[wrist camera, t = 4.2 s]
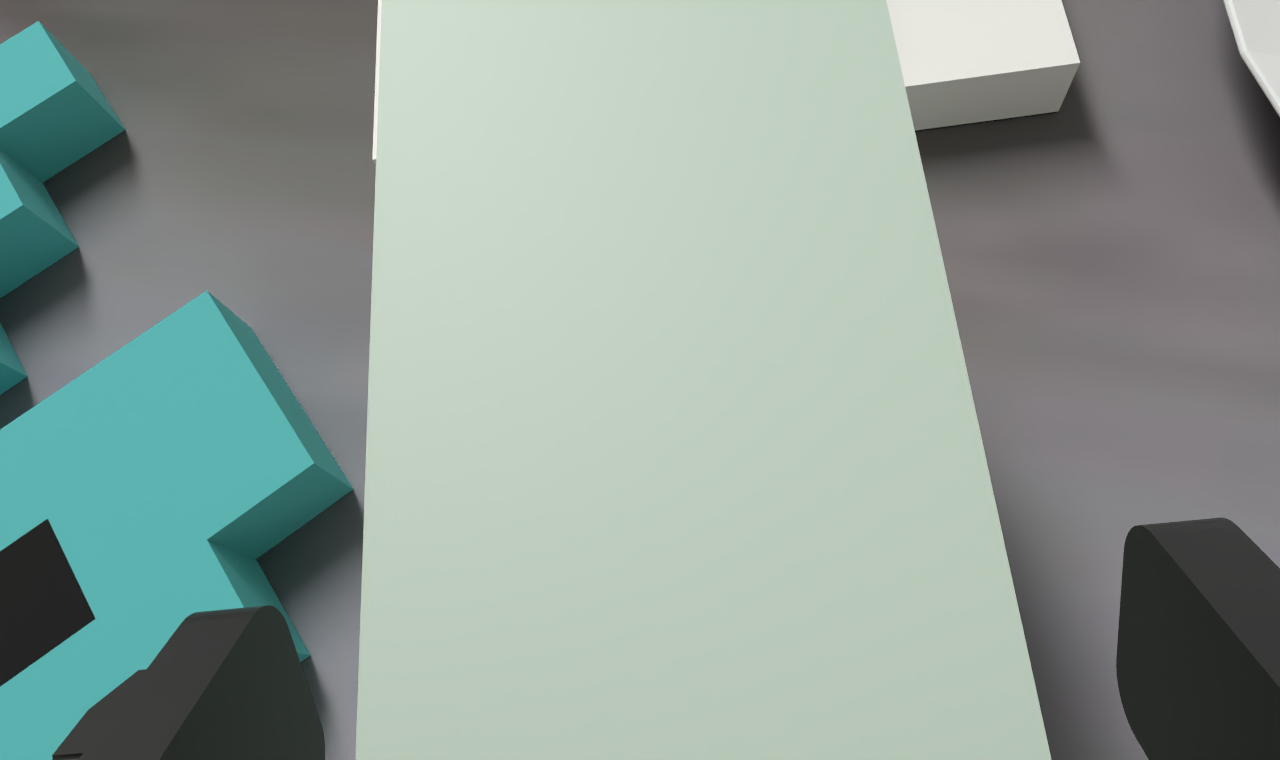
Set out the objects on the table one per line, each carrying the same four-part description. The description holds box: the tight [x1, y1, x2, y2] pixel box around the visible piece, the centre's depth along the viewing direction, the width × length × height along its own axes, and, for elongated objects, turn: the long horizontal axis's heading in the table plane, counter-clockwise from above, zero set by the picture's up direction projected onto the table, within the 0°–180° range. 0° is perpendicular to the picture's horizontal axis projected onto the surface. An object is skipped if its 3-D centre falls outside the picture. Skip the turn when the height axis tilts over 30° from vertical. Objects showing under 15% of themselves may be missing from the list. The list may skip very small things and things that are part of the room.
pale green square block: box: [356, 0, 1051, 760], centre depth 13 cm, size 5×10×10 cm, turn 4°
